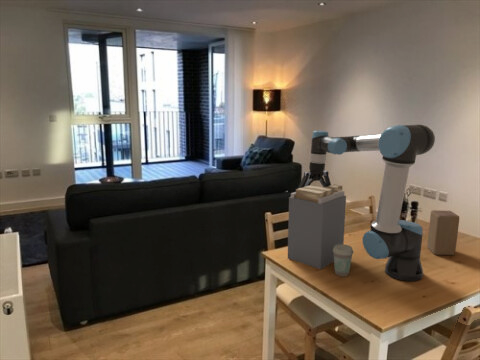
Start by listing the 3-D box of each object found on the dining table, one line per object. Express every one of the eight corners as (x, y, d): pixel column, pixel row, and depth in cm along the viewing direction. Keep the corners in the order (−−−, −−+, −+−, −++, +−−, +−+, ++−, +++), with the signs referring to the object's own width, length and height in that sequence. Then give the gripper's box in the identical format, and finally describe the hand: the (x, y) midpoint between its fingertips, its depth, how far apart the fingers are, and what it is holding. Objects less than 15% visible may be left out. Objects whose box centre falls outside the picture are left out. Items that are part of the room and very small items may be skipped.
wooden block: (446, 248, 193) (451, 210, 189) (455, 256, 183) (460, 216, 179) (426, 247, 194) (430, 209, 189) (434, 255, 184) (438, 215, 180)
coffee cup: (327, 270, 168) (329, 245, 165) (344, 267, 171) (345, 242, 168) (339, 279, 160) (340, 252, 157) (356, 275, 163) (357, 249, 160)
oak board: (328, 187, 194) (328, 180, 193) (349, 191, 185) (350, 183, 185) (295, 197, 174) (295, 189, 173) (318, 202, 166) (318, 193, 165)
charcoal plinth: (311, 246, 195) (313, 185, 189) (342, 256, 183) (346, 191, 177) (287, 258, 181) (289, 192, 175) (320, 269, 169) (323, 199, 162)
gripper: (331, 160, 197) (327, 199, 202) (292, 161, 185) (289, 203, 190) (341, 162, 191) (337, 203, 196) (302, 164, 179) (298, 207, 184)
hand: (313, 203), depth 193 cm, fingers open, 13 cm apart
